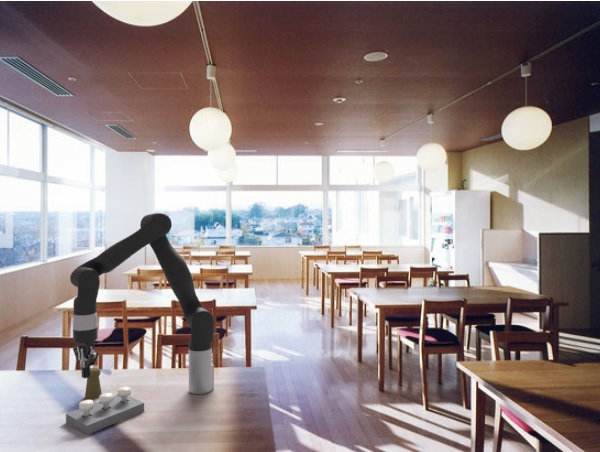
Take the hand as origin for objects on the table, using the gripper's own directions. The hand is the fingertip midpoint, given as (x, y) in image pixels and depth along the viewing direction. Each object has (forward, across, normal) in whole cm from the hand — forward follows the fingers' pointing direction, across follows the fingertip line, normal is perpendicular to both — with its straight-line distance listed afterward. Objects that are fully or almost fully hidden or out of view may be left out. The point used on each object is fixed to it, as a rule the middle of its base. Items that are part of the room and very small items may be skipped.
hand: (85, 377), depth 146 cm
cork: (+16, +20, -13) cm, 29 cm away
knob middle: (+13, 0, -7) cm, 15 cm away
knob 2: (+13, 0, -14) cm, 19 cm away
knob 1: (+14, 0, 0) cm, 14 cm away
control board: (+16, 0, -7) cm, 18 cm away
